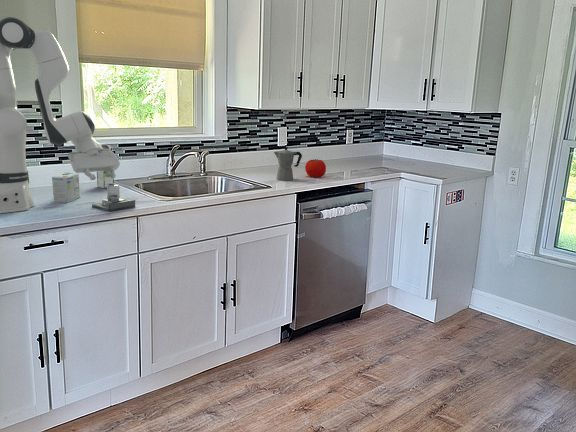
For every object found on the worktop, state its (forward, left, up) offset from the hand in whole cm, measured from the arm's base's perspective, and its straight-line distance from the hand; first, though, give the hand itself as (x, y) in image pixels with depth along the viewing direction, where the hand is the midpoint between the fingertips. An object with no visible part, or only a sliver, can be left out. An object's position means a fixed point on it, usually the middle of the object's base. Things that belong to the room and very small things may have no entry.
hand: (103, 178), depth 217 cm
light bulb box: (-5, +19, -12) cm, 23 cm away
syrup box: (+22, +30, -12) cm, 39 cm away
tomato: (+123, -23, -12) cm, 126 cm away
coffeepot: (+104, -17, -12) cm, 106 cm away
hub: (+1, -5, -10) cm, 11 cm away
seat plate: (+1, -5, -11) cm, 12 cm away
